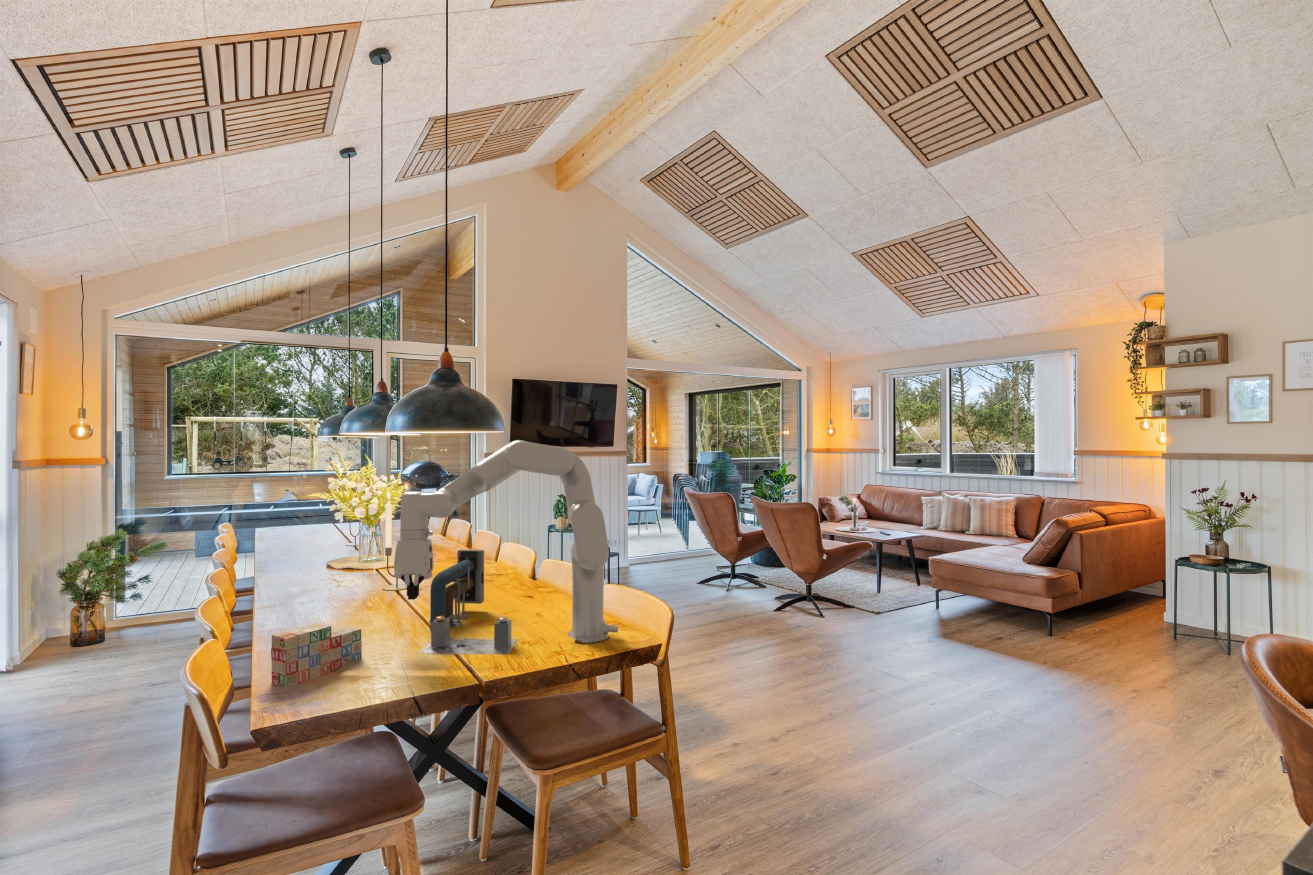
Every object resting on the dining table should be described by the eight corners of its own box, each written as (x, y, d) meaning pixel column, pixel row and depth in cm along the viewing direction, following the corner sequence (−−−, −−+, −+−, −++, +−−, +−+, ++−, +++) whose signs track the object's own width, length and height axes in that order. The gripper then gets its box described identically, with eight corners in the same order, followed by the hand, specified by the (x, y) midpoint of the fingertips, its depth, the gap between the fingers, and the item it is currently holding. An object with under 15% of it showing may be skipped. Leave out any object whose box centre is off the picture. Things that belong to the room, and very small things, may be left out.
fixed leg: (511, 644, 198) (511, 616, 198) (508, 648, 194) (508, 620, 194) (497, 643, 198) (497, 616, 198) (494, 648, 194) (494, 620, 194)
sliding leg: (449, 642, 198) (449, 615, 198) (445, 646, 194) (445, 618, 194) (435, 642, 198) (435, 615, 198) (431, 646, 194) (431, 618, 194)
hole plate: (518, 642, 203) (518, 638, 203) (507, 658, 189) (507, 653, 189) (434, 642, 203) (434, 638, 203) (417, 657, 189) (417, 653, 189)
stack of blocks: (347, 659, 188) (347, 614, 188) (362, 662, 185) (362, 617, 185) (270, 683, 170) (270, 633, 170) (285, 688, 167) (286, 637, 167)
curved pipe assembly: (445, 639, 207) (445, 568, 207) (417, 638, 207) (417, 568, 207) (483, 610, 242) (484, 549, 242) (459, 609, 242) (459, 549, 242)
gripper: (444, 533, 200) (442, 596, 200) (393, 532, 200) (392, 595, 200) (435, 537, 192) (434, 602, 192) (382, 535, 192) (381, 601, 192)
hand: (412, 598), depth 196 cm, fingers closed
